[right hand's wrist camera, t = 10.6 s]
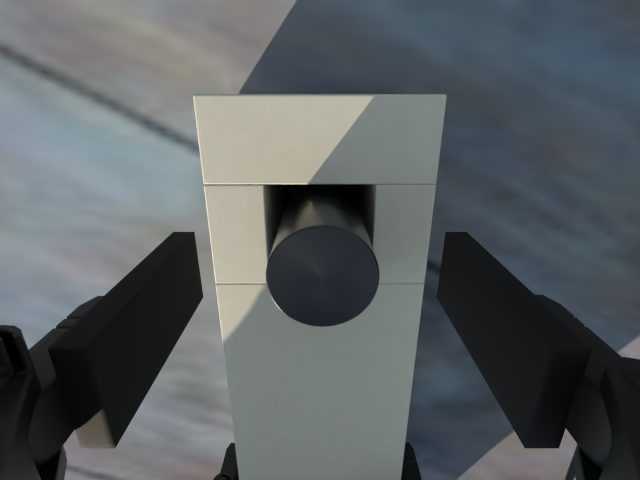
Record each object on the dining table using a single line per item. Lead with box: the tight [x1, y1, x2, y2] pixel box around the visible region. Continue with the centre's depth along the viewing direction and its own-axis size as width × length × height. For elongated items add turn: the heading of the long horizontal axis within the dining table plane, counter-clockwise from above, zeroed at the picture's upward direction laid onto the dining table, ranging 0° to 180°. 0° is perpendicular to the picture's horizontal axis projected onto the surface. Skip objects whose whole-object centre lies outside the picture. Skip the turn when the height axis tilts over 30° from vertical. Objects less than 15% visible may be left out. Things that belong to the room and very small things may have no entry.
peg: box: [266, 184, 380, 327], centre depth 18 cm, size 4×4×12 cm
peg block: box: [193, 94, 447, 480], centre depth 23 cm, size 30×10×8 cm, turn 0°
